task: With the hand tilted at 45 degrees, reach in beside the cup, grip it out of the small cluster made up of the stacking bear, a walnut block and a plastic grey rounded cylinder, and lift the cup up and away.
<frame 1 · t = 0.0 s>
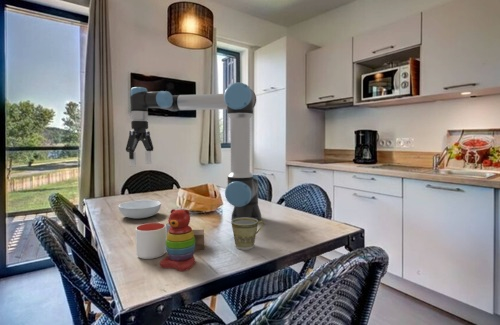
hand: (141, 165, 141), 28 cm above the table, tool pointing down, fingers open, 13 cm apart
serving bowl: (140, 217, 154), on the table
walnut block: (196, 248, 109), on the table
grey rounded cylinder: (174, 241, 116), on the table
cup: (151, 255, 103), on the table
ceramic cup: (248, 246, 111), on the table
stacking bear: (180, 263, 96), on the table
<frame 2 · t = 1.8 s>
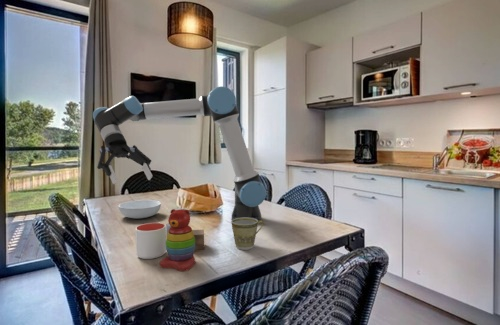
hand: (133, 179, 108), 26 cm above the table, tool tilted 45°, fingers open, 13 cm apart
nothing on the table moved.
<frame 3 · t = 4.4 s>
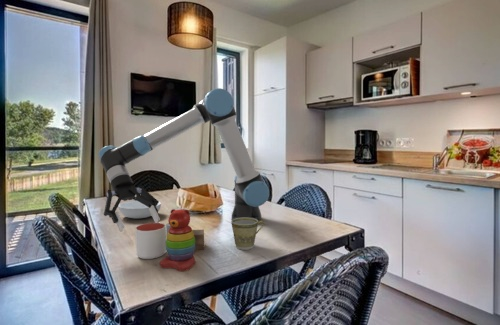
hand: (141, 225, 105), 10 cm above the table, tool tilted 45°, fingers open, 13 cm apart
nothing on the table moved.
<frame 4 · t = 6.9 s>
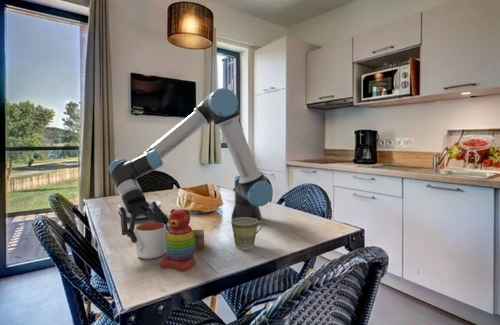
hand: (156, 245, 101), 4 cm above the table, tool tilted 45°, fingers closed on cup, 10 cm apart
cup: (151, 255, 103), on the table, touching gripper
everything else where it was.
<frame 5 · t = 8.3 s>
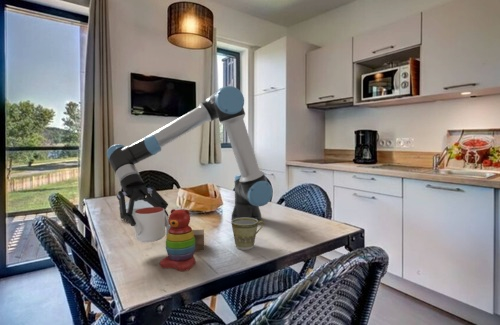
hand: (154, 228, 100), 10 cm above the table, tool tilted 45°, fingers closed on cup, 10 cm apart
cup: (150, 238, 103), point 6 cm above the table, touching gripper
everything else where it was.
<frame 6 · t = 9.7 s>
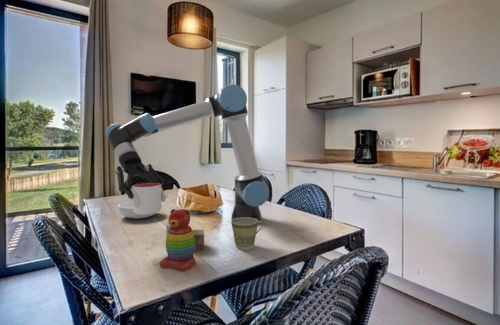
hand: (151, 202, 106), 18 cm above the table, tool tilted 45°, fingers closed on cup, 10 cm apart
cup: (147, 212, 108), point 14 cm above the table, touching gripper
everything else where it was.
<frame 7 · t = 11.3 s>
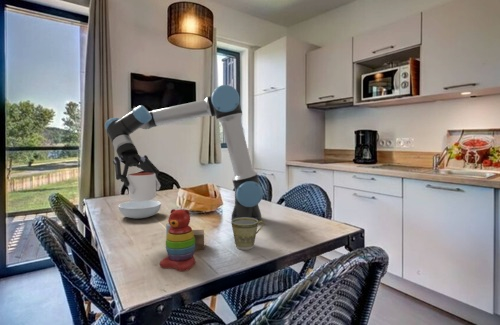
hand: (146, 189, 113), 21 cm above the table, tool tilted 45°, fingers closed on cup, 10 cm apart
cup: (142, 199, 115), point 17 cm above the table, touching gripper
everything else where it was.
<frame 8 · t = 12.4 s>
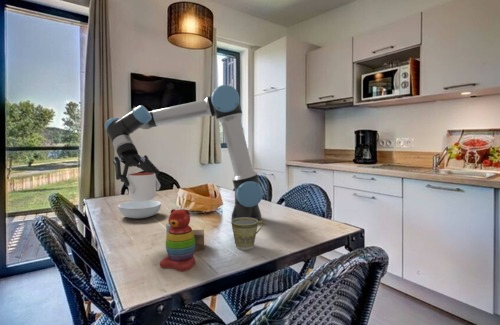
hand: (146, 189, 113), 21 cm above the table, tool tilted 45°, fingers closed on cup, 10 cm apart
cup: (142, 199, 115), point 17 cm above the table, touching gripper
everything else where it was.
at the end: the gripper is holding cup; cup point 16.7 cm above the table; stacking bear moved 0.2 cm from its start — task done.
